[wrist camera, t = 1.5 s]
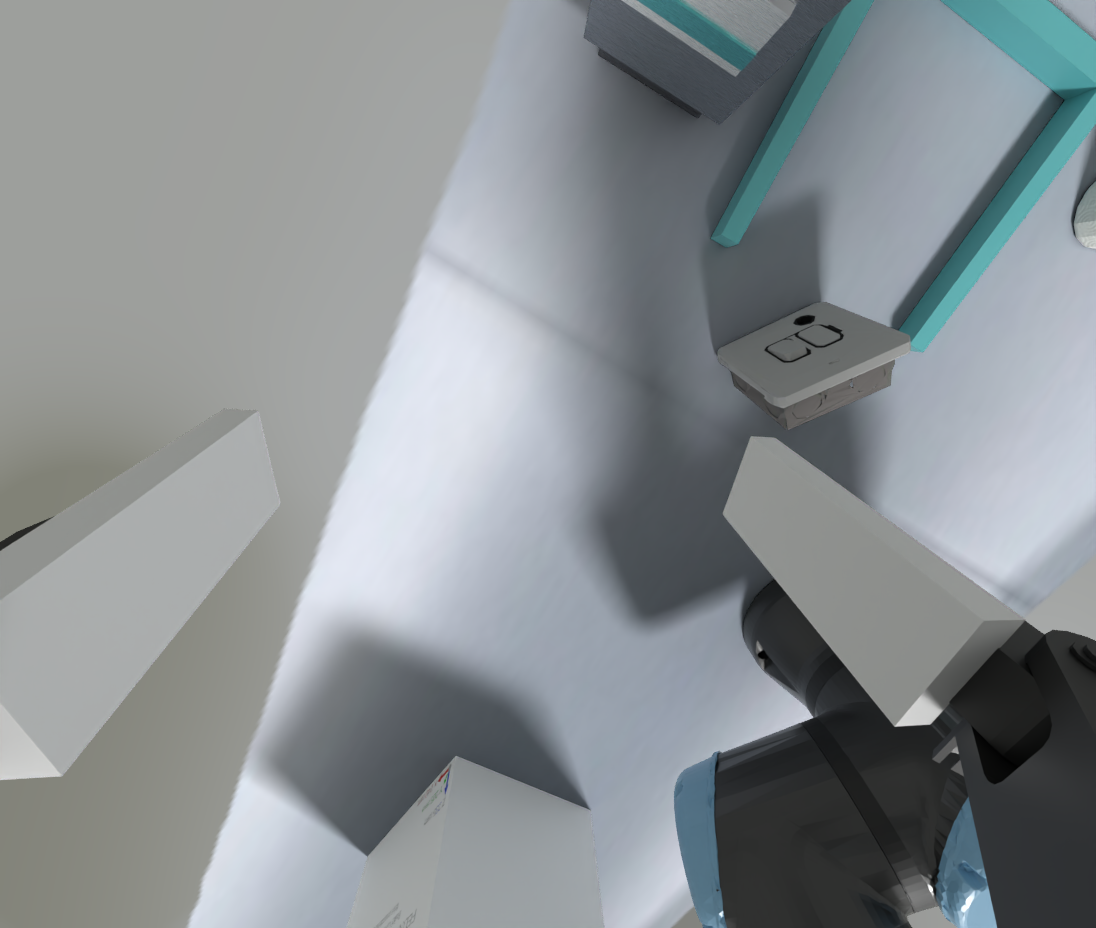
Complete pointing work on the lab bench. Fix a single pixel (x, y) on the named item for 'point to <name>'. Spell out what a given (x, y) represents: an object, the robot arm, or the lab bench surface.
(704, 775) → the robot arm
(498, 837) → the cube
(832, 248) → the lab bench surface
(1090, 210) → the paper towel roll
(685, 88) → the control unit
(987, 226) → the teal bay
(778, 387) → the electrical switch
